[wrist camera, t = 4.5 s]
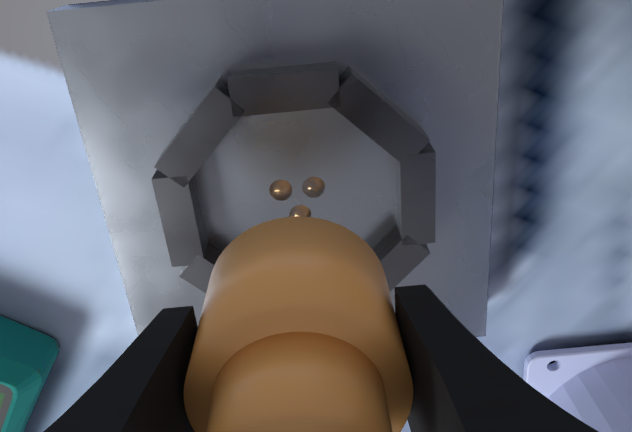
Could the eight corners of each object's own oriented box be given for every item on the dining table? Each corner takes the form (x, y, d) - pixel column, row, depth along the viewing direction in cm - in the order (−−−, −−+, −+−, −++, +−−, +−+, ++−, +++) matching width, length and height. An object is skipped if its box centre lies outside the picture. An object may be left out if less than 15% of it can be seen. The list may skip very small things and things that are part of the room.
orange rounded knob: (383, 207, 12) (435, 373, 8) (390, 357, 14) (435, 562, 9) (192, 226, 12) (132, 401, 8) (224, 373, 14) (191, 585, 9)
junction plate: (488, -37, 16) (518, -32, 14) (473, 310, 22) (494, 354, 19) (66, 4, 16) (30, 17, 14) (156, 339, 22) (140, 386, 20)
